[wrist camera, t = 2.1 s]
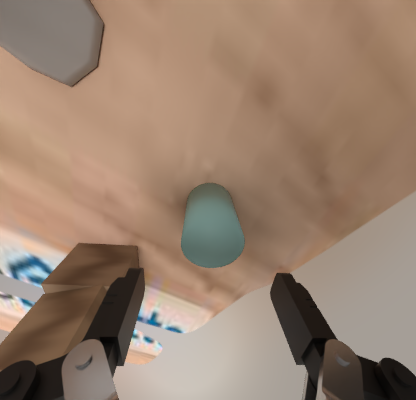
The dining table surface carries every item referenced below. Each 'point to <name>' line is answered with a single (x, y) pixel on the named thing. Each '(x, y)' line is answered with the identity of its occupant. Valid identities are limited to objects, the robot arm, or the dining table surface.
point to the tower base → (91, 267)
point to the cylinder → (211, 227)
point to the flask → (52, 36)
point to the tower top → (52, 326)
